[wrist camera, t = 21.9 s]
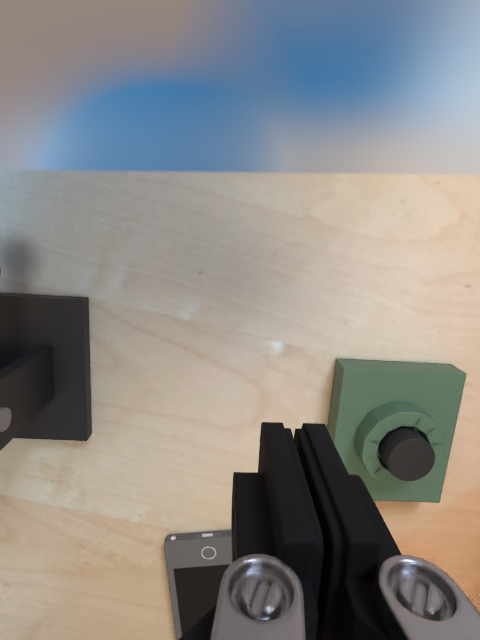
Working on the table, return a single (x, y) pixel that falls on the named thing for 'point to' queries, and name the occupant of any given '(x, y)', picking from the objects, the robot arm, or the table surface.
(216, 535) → the smartphone
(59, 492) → the table surface
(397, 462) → the button
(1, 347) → the lever base
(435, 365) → the control block
